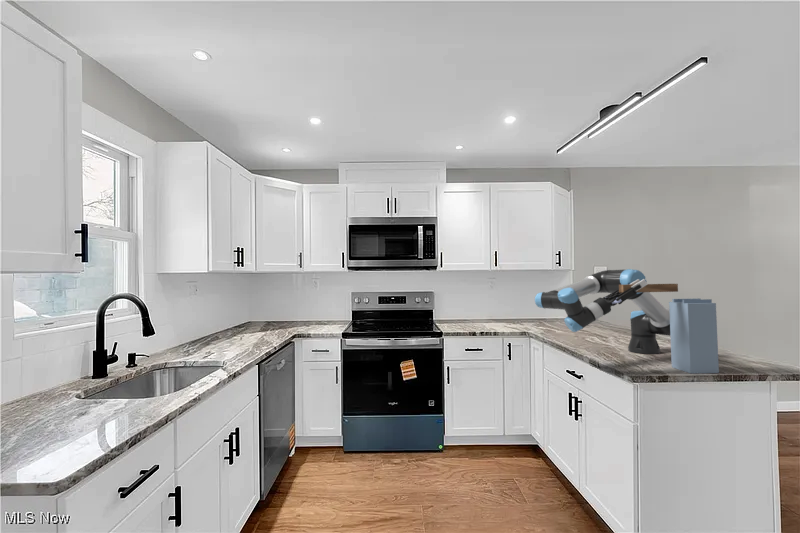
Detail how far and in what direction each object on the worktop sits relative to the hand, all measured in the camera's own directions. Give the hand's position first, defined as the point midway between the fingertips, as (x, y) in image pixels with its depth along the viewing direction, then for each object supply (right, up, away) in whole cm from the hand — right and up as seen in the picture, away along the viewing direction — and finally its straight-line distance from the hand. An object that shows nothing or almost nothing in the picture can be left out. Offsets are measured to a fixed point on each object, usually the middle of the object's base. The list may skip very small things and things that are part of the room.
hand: (642, 281), depth 175 cm
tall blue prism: (+22, -39, -2) cm, 45 cm away
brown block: (+2, -5, 0) cm, 5 cm away
